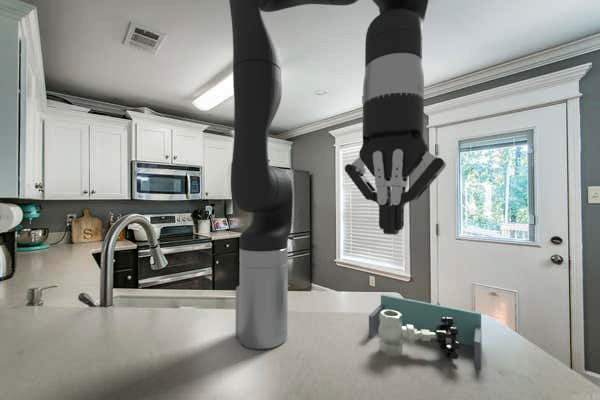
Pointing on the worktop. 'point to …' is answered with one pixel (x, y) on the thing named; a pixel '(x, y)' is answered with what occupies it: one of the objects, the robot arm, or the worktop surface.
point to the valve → (414, 334)
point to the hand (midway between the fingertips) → (390, 233)
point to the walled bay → (432, 320)
